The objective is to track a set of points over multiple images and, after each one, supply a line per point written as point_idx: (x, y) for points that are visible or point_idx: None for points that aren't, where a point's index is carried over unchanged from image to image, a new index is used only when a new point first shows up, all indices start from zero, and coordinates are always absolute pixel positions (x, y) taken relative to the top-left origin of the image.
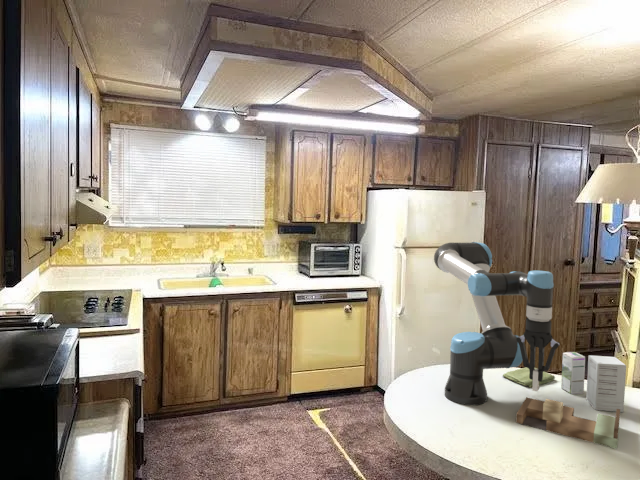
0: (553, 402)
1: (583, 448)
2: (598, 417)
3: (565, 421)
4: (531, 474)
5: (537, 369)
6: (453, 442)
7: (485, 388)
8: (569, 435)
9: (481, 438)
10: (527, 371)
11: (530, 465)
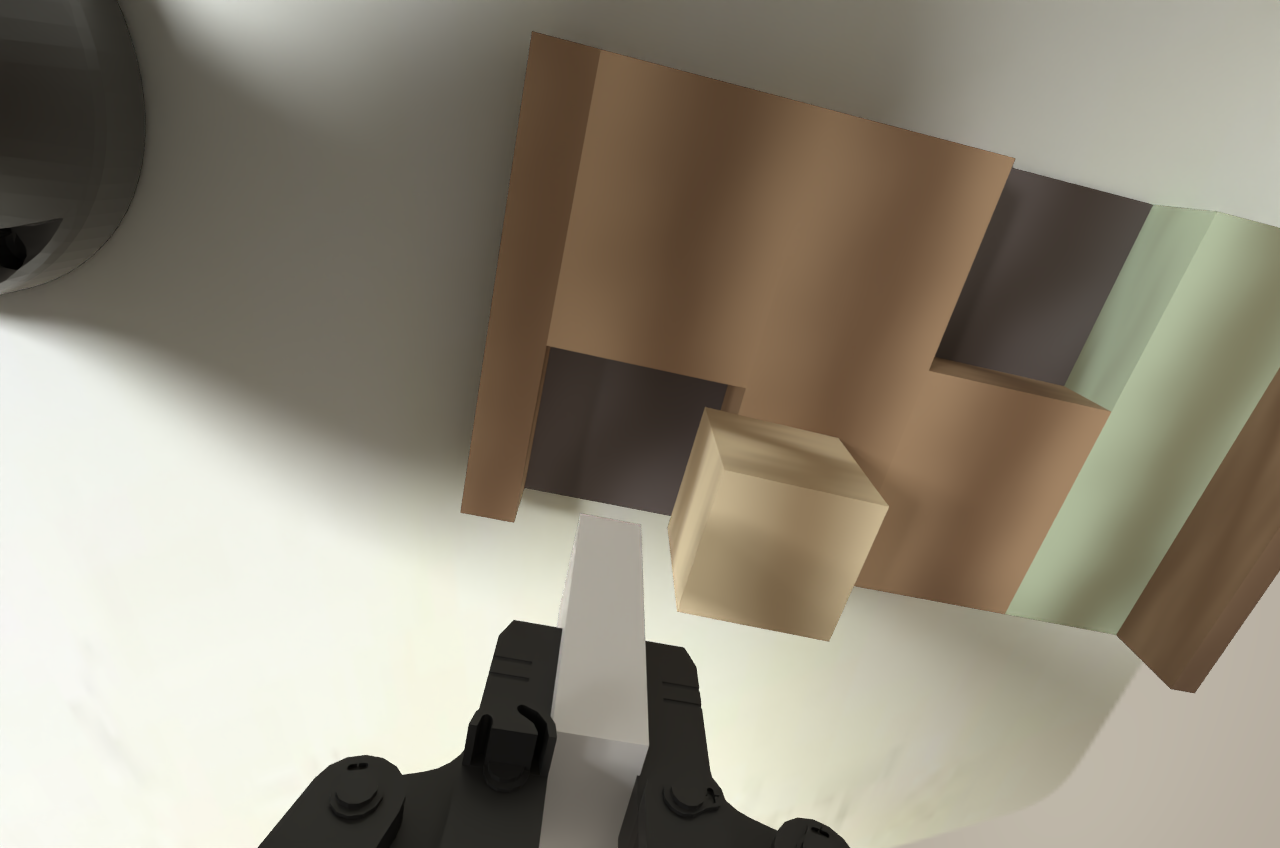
0: (784, 543)
1: (881, 657)
2: (1174, 312)
3: None
4: None
5: (607, 756)
6: (173, 833)
7: (11, 51)
8: None
9: (300, 750)
10: None
11: None
